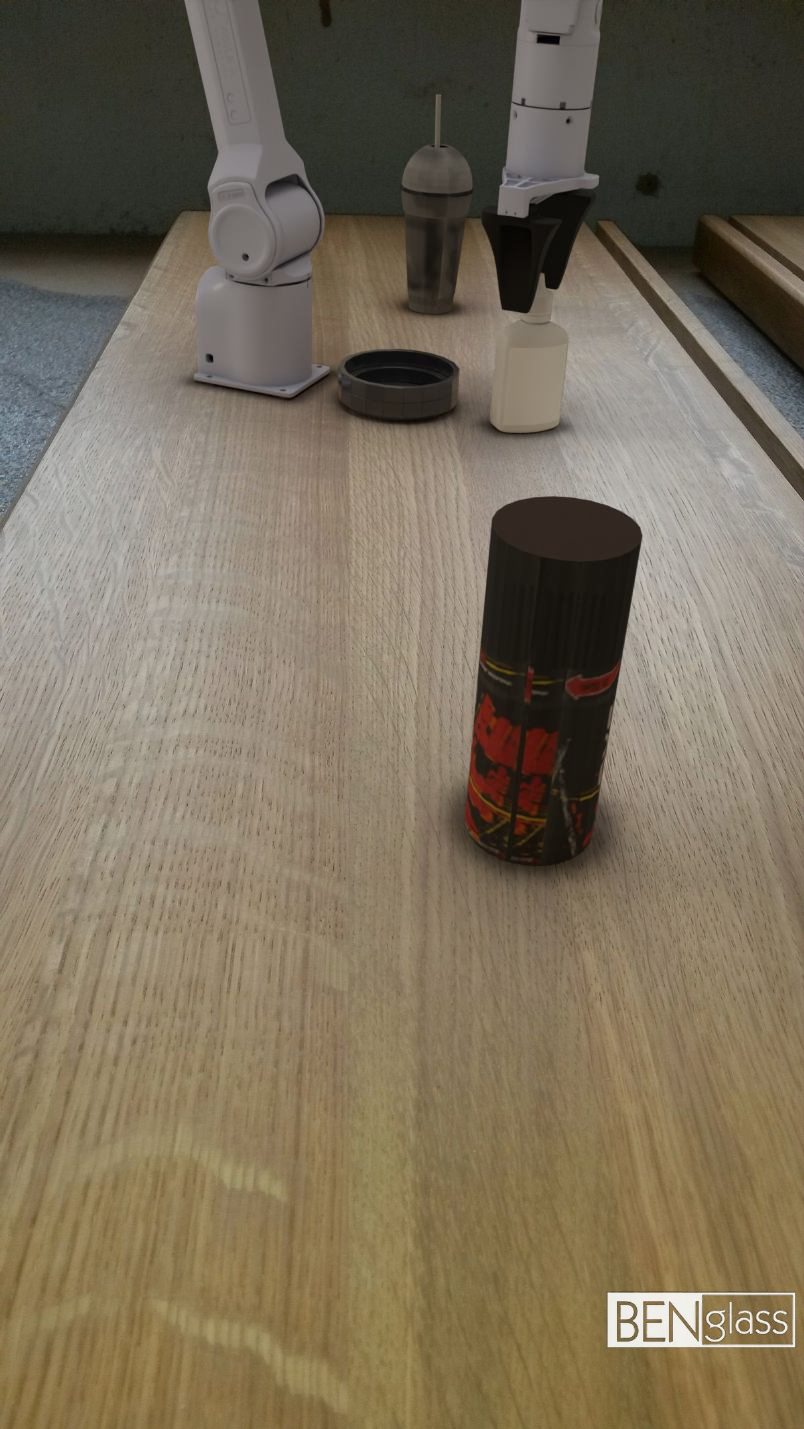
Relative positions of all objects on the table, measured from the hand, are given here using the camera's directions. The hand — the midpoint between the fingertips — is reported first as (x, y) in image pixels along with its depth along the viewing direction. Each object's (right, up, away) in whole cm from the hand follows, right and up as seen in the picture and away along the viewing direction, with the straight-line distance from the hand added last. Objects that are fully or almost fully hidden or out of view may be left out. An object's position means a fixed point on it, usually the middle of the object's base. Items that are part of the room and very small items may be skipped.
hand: (531, 298), depth 94 cm
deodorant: (-4, -37, -38) cm, 53 cm away
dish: (-10, -6, +8) cm, 14 cm away
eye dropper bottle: (0, -9, +5) cm, 10 cm away
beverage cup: (-7, +10, +32) cm, 34 cm away
